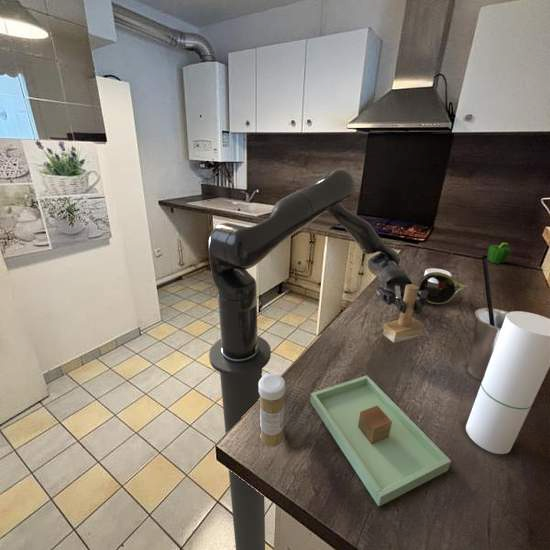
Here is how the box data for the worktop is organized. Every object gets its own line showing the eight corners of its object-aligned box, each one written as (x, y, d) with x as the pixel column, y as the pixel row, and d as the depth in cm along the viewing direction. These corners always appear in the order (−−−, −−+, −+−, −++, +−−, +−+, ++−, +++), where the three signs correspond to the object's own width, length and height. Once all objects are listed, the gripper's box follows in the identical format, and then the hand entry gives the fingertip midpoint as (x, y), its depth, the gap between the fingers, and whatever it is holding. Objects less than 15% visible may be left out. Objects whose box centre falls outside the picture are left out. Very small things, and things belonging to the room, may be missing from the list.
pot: (455, 266, 112) (466, 267, 95) (461, 295, 111) (473, 301, 95) (406, 274, 118) (409, 277, 101) (412, 301, 118) (416, 309, 101)
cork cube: (357, 426, 56) (360, 411, 54) (374, 420, 57) (377, 405, 56) (371, 444, 53) (374, 428, 51) (388, 437, 54) (392, 421, 52)
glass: (447, 373, 70) (481, 256, 59) (462, 353, 77) (496, 245, 66) (500, 399, 63) (552, 271, 51) (512, 374, 70) (560, 257, 58)
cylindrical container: (514, 436, 55) (567, 323, 45) (507, 462, 50) (564, 342, 40) (471, 413, 60) (510, 306, 50) (461, 435, 55) (501, 322, 45)
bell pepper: (484, 262, 141) (490, 242, 137) (486, 258, 147) (492, 239, 143) (505, 266, 136) (512, 246, 132) (506, 262, 142) (513, 242, 138)
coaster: (420, 280, 121) (422, 272, 120) (427, 273, 128) (429, 266, 127) (446, 287, 115) (449, 279, 114) (452, 279, 122) (454, 271, 121)
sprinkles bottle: (268, 423, 57) (268, 368, 52) (288, 434, 55) (290, 378, 50) (254, 440, 54) (253, 384, 49) (275, 453, 52) (276, 396, 46)
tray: (310, 401, 62) (310, 393, 61) (365, 383, 67) (367, 375, 66) (378, 507, 44) (380, 497, 43) (448, 470, 49) (451, 460, 48)
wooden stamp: (381, 334, 76) (390, 285, 71) (409, 327, 79) (419, 280, 74) (393, 343, 72) (404, 293, 67) (422, 335, 76) (434, 287, 70)
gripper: (417, 294, 86) (439, 326, 70) (368, 291, 88) (379, 321, 72) (422, 271, 83) (446, 298, 67) (371, 268, 85) (383, 294, 69)
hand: (411, 310), depth 70 cm, fingers closed on wooden stamp, 3 cm apart
